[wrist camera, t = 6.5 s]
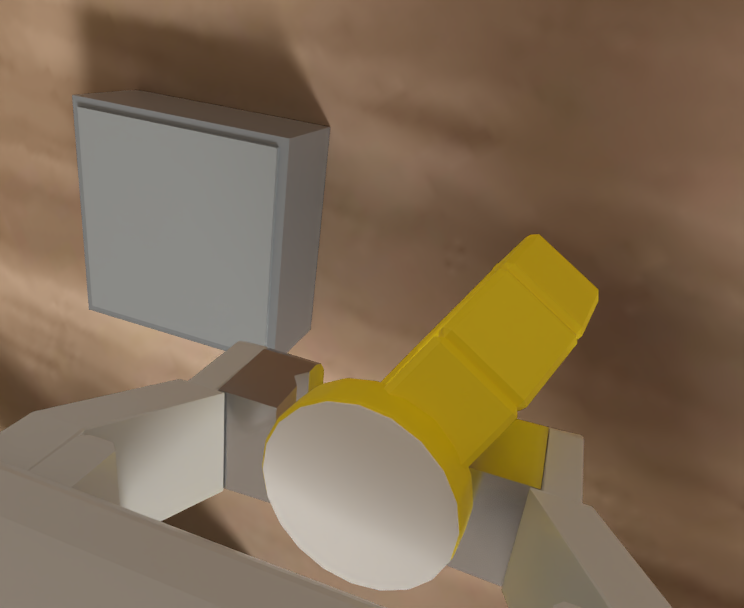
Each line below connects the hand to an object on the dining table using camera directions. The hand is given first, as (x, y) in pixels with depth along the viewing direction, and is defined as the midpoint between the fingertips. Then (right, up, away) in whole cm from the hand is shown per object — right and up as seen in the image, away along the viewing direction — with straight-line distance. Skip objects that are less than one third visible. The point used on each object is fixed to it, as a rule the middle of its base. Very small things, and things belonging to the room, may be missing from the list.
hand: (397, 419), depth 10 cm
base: (-8, +6, +19) cm, 22 cm away
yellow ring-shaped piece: (+2, +1, +3) cm, 4 cm away
